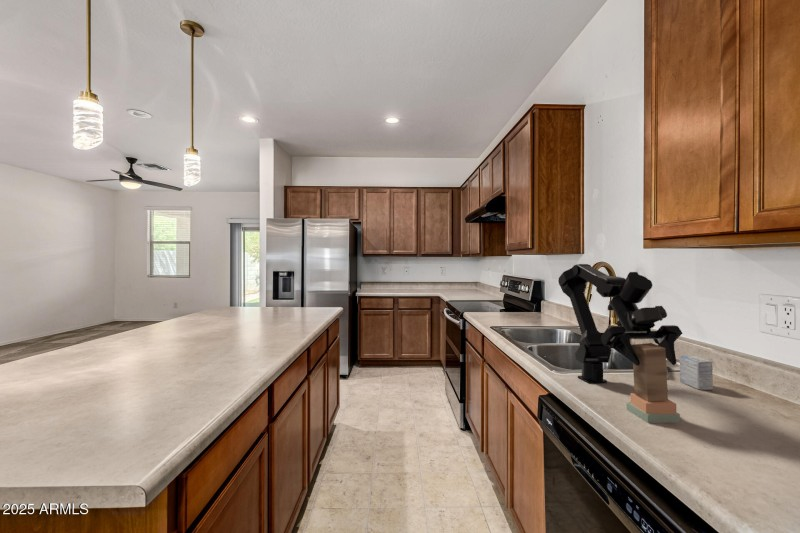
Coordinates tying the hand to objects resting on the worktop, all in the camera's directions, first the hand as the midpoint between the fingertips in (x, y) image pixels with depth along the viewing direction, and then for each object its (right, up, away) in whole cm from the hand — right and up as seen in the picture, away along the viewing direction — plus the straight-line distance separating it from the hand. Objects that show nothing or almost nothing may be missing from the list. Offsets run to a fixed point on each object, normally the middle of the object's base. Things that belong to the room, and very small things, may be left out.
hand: (656, 364), depth 92 cm
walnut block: (0, -9, +2) cm, 9 cm away
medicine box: (+28, -13, +23) cm, 39 cm away
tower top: (0, -11, +1) cm, 12 cm away
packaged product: (+26, -13, +40) cm, 49 cm away
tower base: (0, -14, +2) cm, 14 cm away
